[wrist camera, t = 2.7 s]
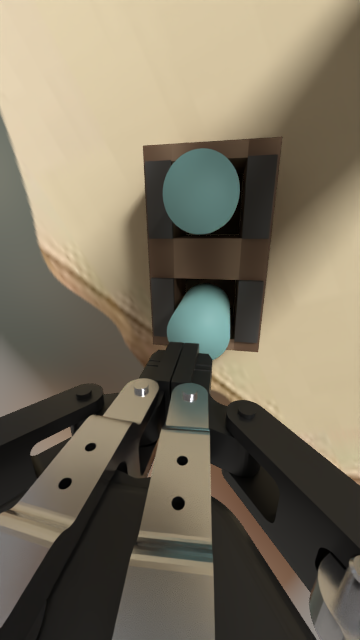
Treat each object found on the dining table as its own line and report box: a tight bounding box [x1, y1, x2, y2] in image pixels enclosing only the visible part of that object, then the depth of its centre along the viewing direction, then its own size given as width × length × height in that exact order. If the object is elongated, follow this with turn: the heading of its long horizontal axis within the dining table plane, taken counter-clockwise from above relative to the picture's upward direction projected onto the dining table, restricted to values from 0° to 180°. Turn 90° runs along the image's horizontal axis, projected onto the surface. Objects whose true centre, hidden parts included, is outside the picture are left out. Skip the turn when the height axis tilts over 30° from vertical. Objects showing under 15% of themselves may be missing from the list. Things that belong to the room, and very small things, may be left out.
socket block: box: [143, 137, 282, 352], centre depth 22 cm, size 9×15×6 cm, turn 0°
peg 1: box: [163, 148, 240, 234], centre depth 16 cm, size 4×4×6 cm
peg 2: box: [167, 283, 230, 360], centre depth 19 cm, size 4×4×6 cm
